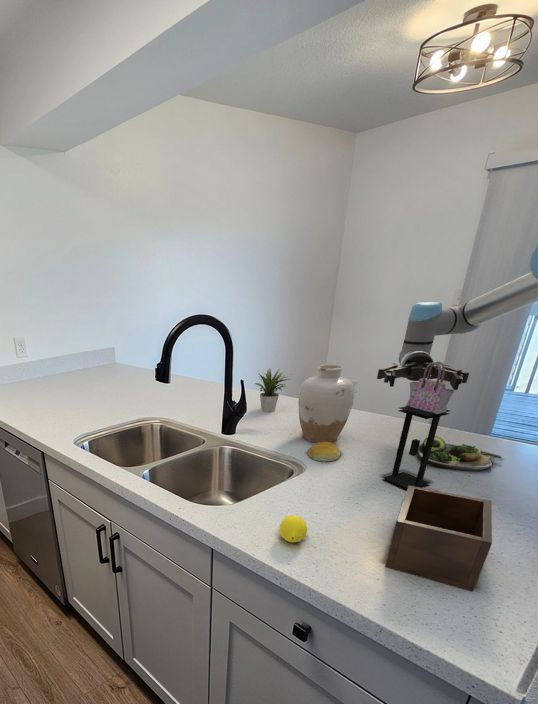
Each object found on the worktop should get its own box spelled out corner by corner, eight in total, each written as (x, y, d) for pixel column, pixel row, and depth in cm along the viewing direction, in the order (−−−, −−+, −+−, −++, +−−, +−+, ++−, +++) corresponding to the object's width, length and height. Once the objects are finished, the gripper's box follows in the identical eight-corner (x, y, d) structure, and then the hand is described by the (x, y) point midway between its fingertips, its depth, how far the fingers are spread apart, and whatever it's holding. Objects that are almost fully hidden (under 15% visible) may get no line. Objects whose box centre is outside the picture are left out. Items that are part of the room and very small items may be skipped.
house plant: (275, 418, 161) (280, 374, 153) (242, 412, 169) (245, 370, 162) (292, 409, 170) (297, 366, 162) (260, 404, 178) (263, 363, 171)
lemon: (279, 529, 94) (282, 507, 92) (306, 533, 92) (309, 511, 90) (276, 547, 89) (279, 524, 86) (304, 551, 87) (308, 528, 84)
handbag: (377, 477, 114) (403, 360, 100) (398, 472, 116) (427, 356, 102) (413, 494, 105) (447, 368, 91) (435, 487, 107) (472, 363, 93)
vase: (284, 439, 142) (292, 368, 131) (308, 426, 151) (318, 359, 141) (332, 450, 131) (344, 374, 121) (355, 436, 140) (368, 364, 130)
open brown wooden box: (475, 545, 85) (491, 500, 81) (473, 591, 74) (492, 543, 69) (397, 526, 93) (408, 485, 88) (384, 566, 81) (396, 521, 76)
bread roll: (305, 459, 126) (306, 446, 125) (313, 449, 133) (315, 437, 131) (335, 464, 122) (337, 451, 120) (342, 454, 128) (344, 441, 127)
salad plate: (493, 451, 124) (498, 436, 122) (508, 477, 110) (514, 460, 108) (414, 444, 132) (418, 429, 130) (418, 466, 118) (422, 451, 116)
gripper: (465, 380, 121) (481, 401, 104) (365, 376, 131) (365, 394, 114) (473, 352, 117) (491, 369, 101) (370, 350, 128) (370, 365, 111)
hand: (424, 382), depth 107 cm, fingers open, 13 cm apart
